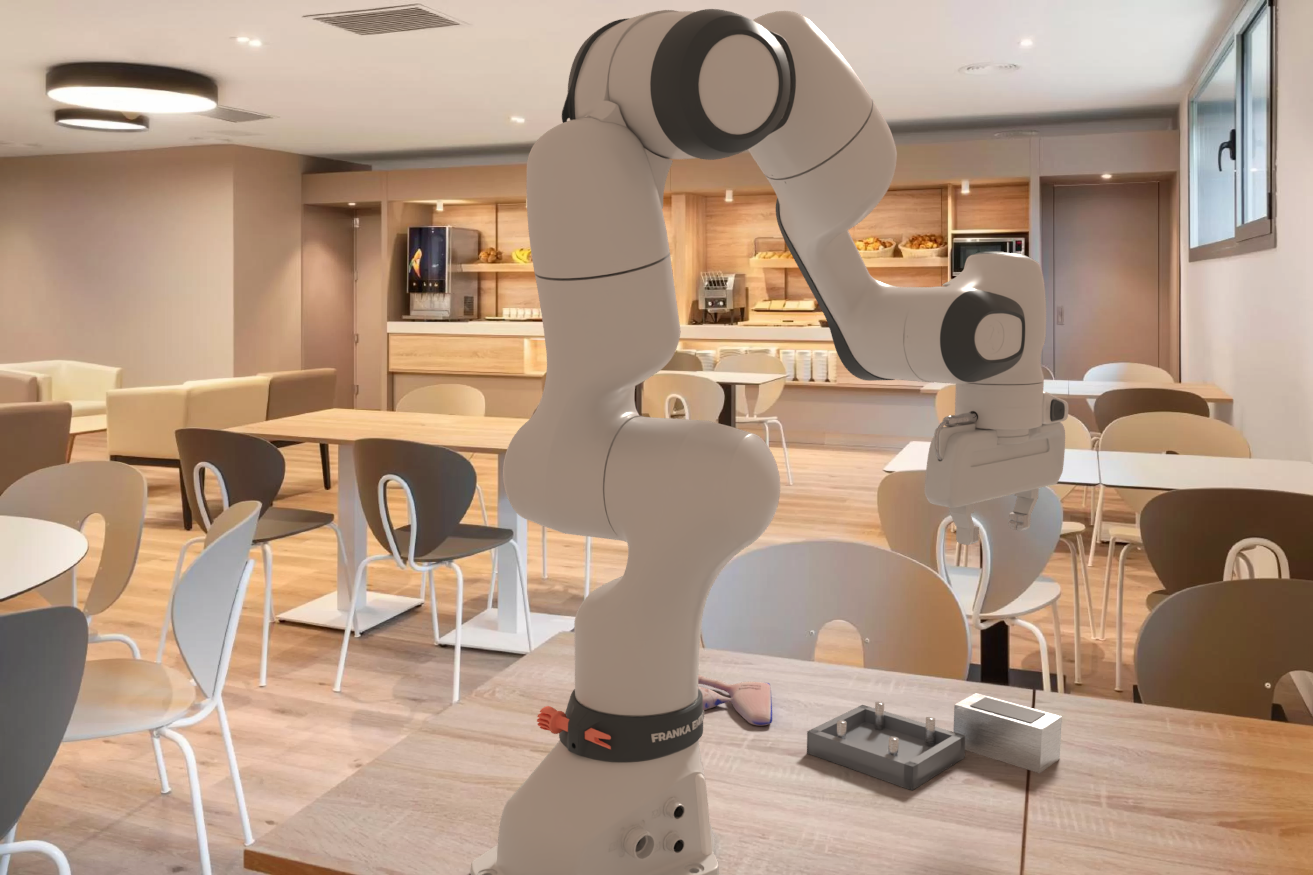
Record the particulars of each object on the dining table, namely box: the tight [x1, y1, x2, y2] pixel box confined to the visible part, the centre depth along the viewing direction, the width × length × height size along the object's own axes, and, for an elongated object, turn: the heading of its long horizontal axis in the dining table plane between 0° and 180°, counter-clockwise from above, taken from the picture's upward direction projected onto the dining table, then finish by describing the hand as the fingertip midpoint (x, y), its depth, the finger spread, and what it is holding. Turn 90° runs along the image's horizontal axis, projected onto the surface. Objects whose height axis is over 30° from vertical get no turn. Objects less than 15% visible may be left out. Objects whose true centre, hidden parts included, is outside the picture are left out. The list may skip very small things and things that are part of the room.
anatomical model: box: [698, 673, 773, 727], centre depth 131 cm, size 20×3×15 cm
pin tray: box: [806, 701, 966, 791], centre depth 115 cm, size 11×13×4 cm
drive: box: [952, 692, 1063, 774], centre depth 116 cm, size 5×10×5 cm, turn 46°
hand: (993, 536), depth 114 cm, fingers open, 8 cm apart
